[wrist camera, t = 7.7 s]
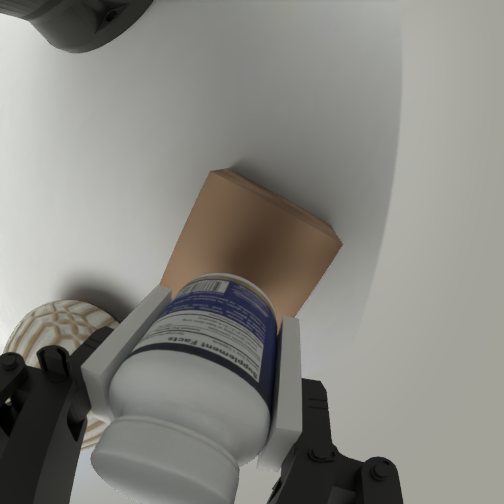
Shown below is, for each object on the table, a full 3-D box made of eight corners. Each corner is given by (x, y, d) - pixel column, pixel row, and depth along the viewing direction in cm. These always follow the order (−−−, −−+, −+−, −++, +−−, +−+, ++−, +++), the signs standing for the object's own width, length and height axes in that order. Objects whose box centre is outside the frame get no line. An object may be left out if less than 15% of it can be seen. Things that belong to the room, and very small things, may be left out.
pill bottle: (248, 374, 15) (213, 535, 6) (162, 331, 15) (69, 471, 6) (299, 302, 14) (304, 499, 4) (197, 249, 13) (63, 396, 4)
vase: (42, 311, 32) (-51, 389, 13) (98, 255, 28) (-47, 355, 9) (111, 395, 35) (48, 493, 16) (185, 367, 31) (116, 515, 12)
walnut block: (182, 264, 27) (157, 290, 22) (228, 168, 24) (210, 171, 18) (273, 313, 28) (270, 350, 22) (330, 224, 24) (342, 244, 19)
